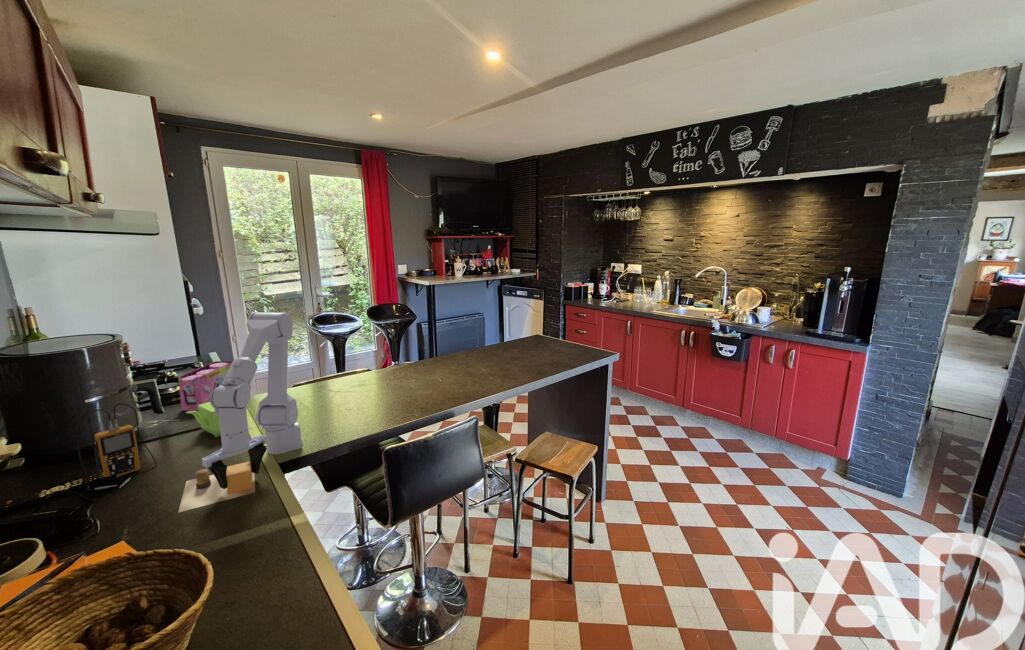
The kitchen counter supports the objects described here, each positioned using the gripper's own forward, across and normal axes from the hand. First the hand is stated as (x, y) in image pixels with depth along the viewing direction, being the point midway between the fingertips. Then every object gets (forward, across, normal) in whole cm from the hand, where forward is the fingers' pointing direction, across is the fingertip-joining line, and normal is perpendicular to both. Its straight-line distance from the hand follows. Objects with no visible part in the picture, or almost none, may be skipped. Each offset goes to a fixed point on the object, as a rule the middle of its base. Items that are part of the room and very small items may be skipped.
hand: (240, 479), depth 101 cm
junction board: (+3, +3, -4) cm, 6 cm away
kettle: (+3, -17, -41) cm, 45 cm away
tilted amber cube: (+2, 0, 0) cm, 2 cm away
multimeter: (+4, +11, -33) cm, 35 cm away
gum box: (+3, -30, -76) cm, 81 cm away
